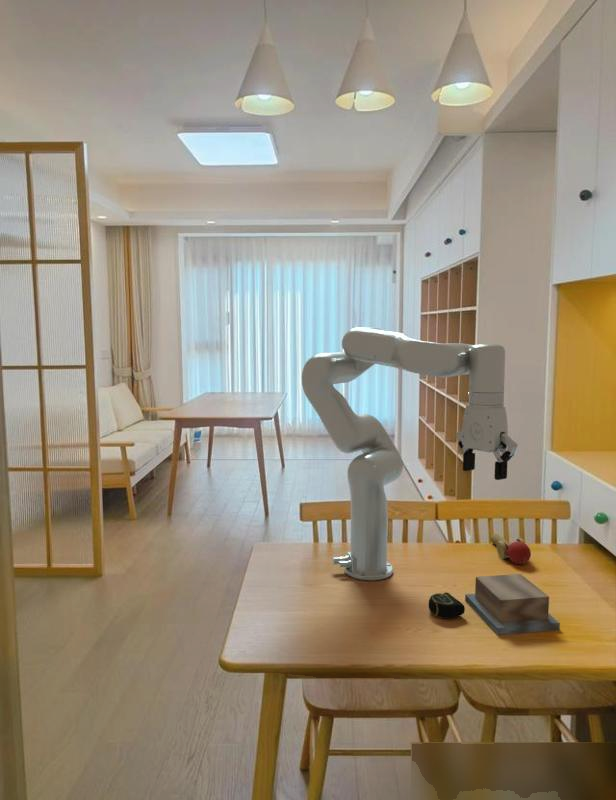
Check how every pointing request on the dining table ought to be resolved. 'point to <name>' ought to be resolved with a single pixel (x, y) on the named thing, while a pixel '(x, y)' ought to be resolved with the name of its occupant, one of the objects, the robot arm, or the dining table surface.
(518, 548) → the kendama
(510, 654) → the dining table surface
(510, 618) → the plinth
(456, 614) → the tape measure
